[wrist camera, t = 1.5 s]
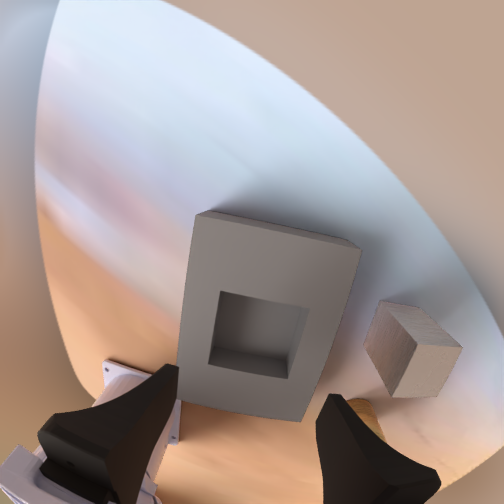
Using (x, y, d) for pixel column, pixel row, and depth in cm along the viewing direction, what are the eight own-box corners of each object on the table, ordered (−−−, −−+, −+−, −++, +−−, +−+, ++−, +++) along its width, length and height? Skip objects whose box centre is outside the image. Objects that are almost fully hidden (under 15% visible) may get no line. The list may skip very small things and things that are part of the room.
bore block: (297, 395, 23) (300, 422, 20) (184, 373, 23) (173, 398, 20) (347, 239, 20) (361, 250, 16) (207, 210, 20) (195, 215, 17)
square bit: (402, 348, 22) (436, 396, 15) (363, 344, 22) (391, 397, 15) (418, 307, 21) (462, 347, 14) (379, 300, 21) (418, 344, 14)
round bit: (361, 429, 24) (377, 479, 17) (322, 428, 24) (332, 482, 17) (379, 399, 23) (402, 450, 16) (338, 397, 23) (353, 453, 16)
